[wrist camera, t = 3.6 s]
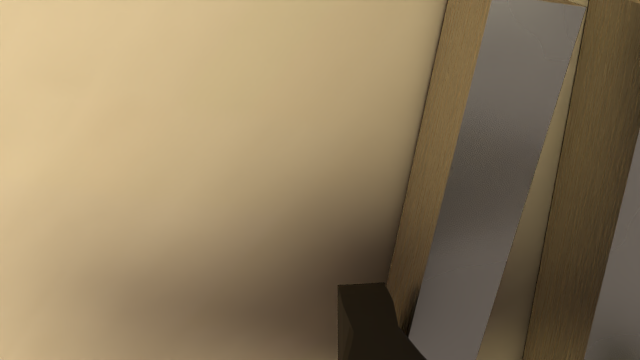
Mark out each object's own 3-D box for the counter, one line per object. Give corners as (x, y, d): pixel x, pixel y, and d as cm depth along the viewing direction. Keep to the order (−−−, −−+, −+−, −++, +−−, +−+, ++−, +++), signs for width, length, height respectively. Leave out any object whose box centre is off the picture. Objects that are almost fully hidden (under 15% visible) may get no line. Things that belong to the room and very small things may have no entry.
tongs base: (735, -205, 10) (867, -235, 7) (570, 451, 16) (615, 538, 14) (524, -207, 9) (595, -237, 7) (442, 457, 16) (467, 546, 14)
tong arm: (529, -14, 11) (586, 7, 9) (401, 461, 16) (418, 543, 14) (431, -28, 10) (466, -10, 8) (333, 457, 15) (340, 540, 13)
